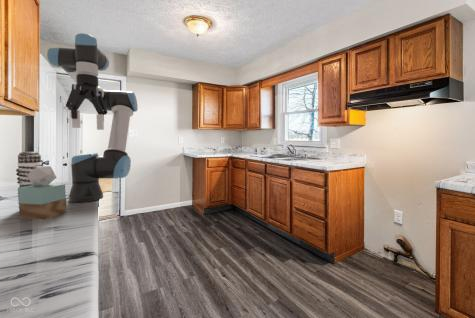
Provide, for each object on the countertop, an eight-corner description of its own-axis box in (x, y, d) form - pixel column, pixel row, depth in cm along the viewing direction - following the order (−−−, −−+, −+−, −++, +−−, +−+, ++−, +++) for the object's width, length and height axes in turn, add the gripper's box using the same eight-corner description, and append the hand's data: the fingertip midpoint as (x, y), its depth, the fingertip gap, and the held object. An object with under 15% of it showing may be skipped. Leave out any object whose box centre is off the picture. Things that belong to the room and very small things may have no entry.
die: (33, 190, 93) (52, 169, 95) (16, 178, 94) (35, 157, 96) (48, 193, 101) (65, 174, 103) (32, 182, 101) (49, 163, 104)
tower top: (44, 197, 105) (43, 183, 104) (65, 198, 103) (65, 184, 103) (18, 203, 94) (17, 187, 94) (41, 204, 93) (41, 188, 92)
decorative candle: (50, 208, 109) (47, 151, 107) (24, 213, 101) (21, 152, 99) (39, 205, 113) (36, 151, 111) (14, 210, 105) (10, 152, 103)
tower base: (44, 211, 105) (43, 197, 104) (66, 212, 104) (66, 198, 103) (19, 218, 94) (18, 203, 94) (44, 219, 93) (43, 204, 93)
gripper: (99, 83, 112) (101, 130, 113) (52, 66, 87) (54, 126, 88) (115, 82, 111) (116, 130, 112) (71, 65, 86) (73, 126, 87)
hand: (89, 128), depth 100 cm, fingers open, 13 cm apart
